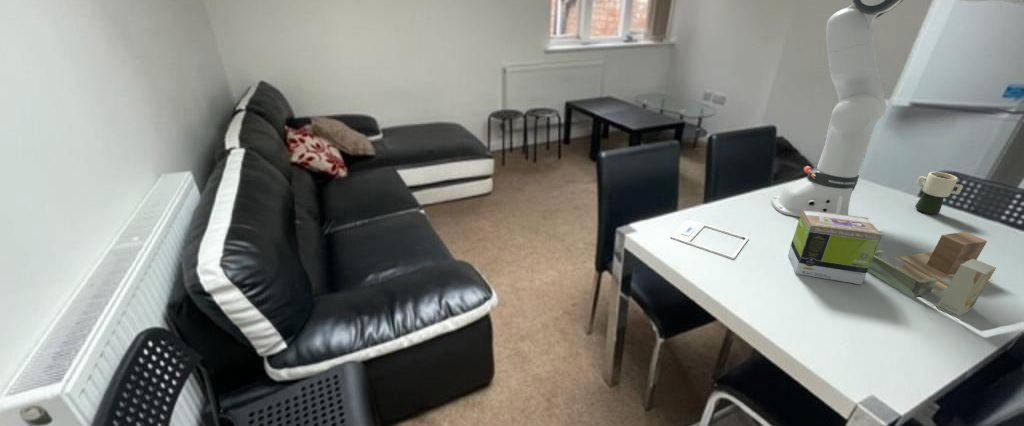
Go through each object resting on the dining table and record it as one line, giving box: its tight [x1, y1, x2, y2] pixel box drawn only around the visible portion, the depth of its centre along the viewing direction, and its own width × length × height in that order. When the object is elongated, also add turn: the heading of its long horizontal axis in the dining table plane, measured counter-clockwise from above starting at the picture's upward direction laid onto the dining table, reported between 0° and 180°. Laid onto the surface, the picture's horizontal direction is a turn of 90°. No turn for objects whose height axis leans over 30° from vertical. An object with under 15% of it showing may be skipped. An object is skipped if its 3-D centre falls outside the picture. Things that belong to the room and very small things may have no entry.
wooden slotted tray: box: [867, 249, 993, 299], centre depth 114 cm, size 26×14×4 cm, turn 104°
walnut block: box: [927, 231, 988, 275], centre depth 114 cm, size 8×5×9 cm, turn 104°
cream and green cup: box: [914, 171, 964, 214], centre depth 145 cm, size 11×7×13 cm, turn 42°
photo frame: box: [670, 219, 750, 260], centre depth 130 cm, size 15×1×18 cm
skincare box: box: [936, 259, 997, 319], centre depth 99 cm, size 6×4×12 cm
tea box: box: [787, 210, 883, 286], centre depth 113 cm, size 15×10×15 cm, turn 71°
